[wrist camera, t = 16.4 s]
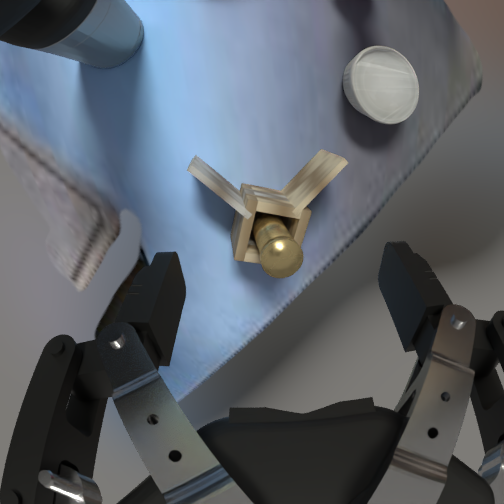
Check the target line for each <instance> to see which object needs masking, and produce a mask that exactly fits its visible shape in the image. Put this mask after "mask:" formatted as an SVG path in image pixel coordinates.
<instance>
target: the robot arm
mask: <svg viewBox="0 0 504 504" xmlns="http://www.w3.org/2000/svg"><path fill="white" fill-rule="evenodd" d="M143 34H144V30H143V24H142V21H141V20H140V18H139V17H138V16H137V15H136V13H135V12H134V11H133V10H132V8H131V7H130V6H129V5H128V4H127V3H126V1H125V0H0V40H1V41H4V42H7V43H9V44H12V45H16V46H20V47H25V48H30V49H34V50H38V51H43V52H46V53H51V54H55V55H58V56H62V57H65V58H69V59H72V60H75V61H79V62H82V63H85V64H88V65H91V66H94V67H98V68H112V67H115V66H118V65H120V64H122V63H124V62H125V61H127V60H128V59H129V58H130V57H132V56H133V54H134V53H135V52H136V51H137V49H138V48H139V46H140V44H141V42H142V39H143ZM378 282H379V287H380V290H381V292H382V295H383V297H384V299H385V302H386V304H387V307H388V309H389V311H390V314H391V317H392V319H393V321H394V324H395V327H396V329H397V332H398V334H399V337H400V340H401V342H402V345H403V348H404V350H405V352H409V351H414V350H416V353H417V355H418V358H417V360H416V362H415V365H414V367H413V370H412V373H411V375H410V377H409V380H408V382H407V385H406V387H405V390H404V392H403V394H402V396H401V398H400V400H399V402H398V404H397V406H396V407H395V409H394V411H393V410H390V409H387V408H383V407H378V406H374V402H373V398H372V397H370V398H363V399H358V400H350V401H342V402H338V403H335V404H332V405H329V406H326V407H324V408H321V409H318V410H315V411H312V412H309V413H304V414H300V413H294V412H288V411H282V410H277V409H271V408H266V407H265V408H230V412H229V417H225V418H222V419H218V420H215V421H213V422H211V423H209V424H207V425H205V426H203V427H202V428H200V429H199V430H197V431H195V429H194V428H193V426H192V425H191V424H190V422H189V420H188V419H187V417H186V416H185V414H184V413H183V411H182V410H181V408H180V407H179V405H178V404H177V402H176V401H175V399H174V397H173V396H172V394H171V393H170V391H169V389H168V388H167V386H166V384H165V383H164V381H163V379H162V378H161V376H160V374H159V373H158V368H159V366H169V365H170V361H171V356H172V352H173V347H174V343H175V339H176V334H177V330H178V326H179V322H180V318H181V314H182V309H183V305H184V301H185V297H186V285H185V281H184V277H183V273H182V269H181V265H180V261H179V257H178V254H177V253H176V252H159V253H156V254H155V256H154V259H153V261H152V263H151V265H150V266H144V267H143V268H142V269H141V270H140V271H139V272H138V273H137V274H136V276H135V278H134V280H133V282H132V284H131V285H132V286H130V289H129V291H128V295H126V298H125V300H124V302H123V304H122V307H121V309H120V311H119V314H118V316H117V318H116V321H115V323H112V324H110V325H108V326H106V327H105V328H104V329H103V330H102V331H101V332H100V333H99V335H98V337H97V339H96V340H92V341H87V342H83V343H78V344H76V342H75V341H74V339H73V338H72V337H70V336H69V335H58V336H56V337H54V338H52V339H51V340H50V341H49V342H48V343H47V344H46V346H45V347H44V349H43V352H42V354H41V356H40V359H39V361H38V363H37V366H36V368H35V371H34V373H33V376H32V378H31V381H30V384H29V386H28V389H27V392H26V395H25V398H24V400H23V403H22V406H21V409H20V412H19V416H18V419H17V422H16V425H15V428H14V432H13V436H12V439H11V443H10V447H9V451H8V455H7V459H6V463H5V468H4V473H3V478H2V483H1V489H0V503H1V504H102V496H101V493H100V490H99V487H98V485H97V484H96V483H95V482H94V481H93V480H92V478H93V471H94V465H95V459H96V453H97V448H98V442H99V437H100V431H101V427H102V422H103V417H104V412H105V408H106V404H107V399H108V397H112V398H113V401H114V404H115V406H116V408H117V410H118V413H119V415H120V417H121V419H122V421H123V423H124V426H125V428H126V430H127V432H128V434H129V436H130V438H131V440H132V442H133V444H134V445H135V448H136V449H137V451H138V453H139V455H140V457H141V459H142V461H143V462H144V464H145V466H146V468H147V469H148V471H149V473H150V475H149V476H148V477H147V478H146V479H145V480H144V481H143V482H141V483H140V484H139V485H138V486H137V487H136V488H135V489H133V490H132V491H131V492H130V493H129V494H128V495H126V496H125V497H124V498H123V499H122V500H120V501H119V502H118V503H117V504H504V390H503V387H502V384H501V381H500V379H499V376H498V374H497V371H496V369H495V367H496V366H497V365H498V363H499V362H500V364H501V366H502V369H503V372H504V311H498V312H496V313H495V314H494V316H493V318H492V319H491V321H485V320H478V319H475V318H474V316H473V314H472V313H471V312H470V311H469V310H468V309H466V308H465V307H463V306H461V305H456V304H453V303H452V301H451V300H450V298H449V296H448V295H447V293H446V291H445V290H444V288H443V287H442V285H441V283H440V282H439V280H438V279H437V277H436V275H435V273H434V272H432V269H431V267H430V266H429V264H428V263H427V261H426V260H425V259H423V258H422V257H421V256H420V255H418V254H417V253H413V251H412V250H411V248H410V247H409V245H408V244H407V243H406V242H405V241H399V242H398V241H397V242H387V243H386V245H385V248H384V253H383V257H382V261H381V266H380V270H379V275H378ZM70 394H71V395H70ZM69 397H70V399H69ZM469 398H471V401H472V404H473V408H474V411H475V415H476V418H477V422H478V426H479V430H480V434H481V438H482V442H483V446H484V451H485V456H484V459H483V462H482V465H481V466H480V468H479V470H478V474H477V473H476V472H475V471H473V470H472V469H471V468H469V467H468V466H467V465H466V464H464V463H463V462H462V461H460V460H459V459H458V458H456V457H455V456H454V455H453V454H452V453H453V451H454V448H455V445H456V442H457V439H458V436H459V433H460V430H461V427H462V423H463V420H464V416H465V413H466V409H467V405H468V402H469ZM68 401H69V402H68ZM67 404H68V405H67ZM66 408H67V409H66Z"/></svg>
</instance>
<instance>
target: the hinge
mask: <svg viewBox="0 0 504 504" xmlns="http://www.w3.org/2000/svg"><path fill="white" fill-rule="evenodd" d="M347 164H348V162H347V161H346V159H345V158H343V157H340V156H338V155H335V154H333V153H330V152H328V151H325V150H322V149H321V150H320V151H319V152H318V153H317V154H316V155H315V156H314V157H313V158H312V159H311V160H310V161H309V162H308V163H307V164H306V165H305V166H304V167H303V169H302V170H301V171H300V172H299V173H298V174H297V175H296V176H295V177H294V178H293V179H292V180H291V181H290V182H289V183H288V184H287V185H286V186H285V187H284V188H283V189H282V190H281V191H279V190H274V189H269V188H264V187H259V186H254V185H249V184H243V183H242V184H241V188H240V191H239V190H238V189H237V188H235V187H234V186H233V185H232V184H231V183H229V182H228V181H227V180H226V179H225V178H223V177H222V176H221V175H220V174H219V173H217V172H216V171H215V170H214V169H213V168H211V167H210V166H209V165H208V164H206V163H205V162H204V161H203V160H202V159H200V158H199V157H198V156H197V155H195V157H194V158H193V159H192V161H191V163H190V165H189V167H188V169H187V171H189V172H190V173H191V174H192V175H194V176H195V177H196V178H197V179H199V180H200V181H201V182H202V183H203V184H205V185H206V186H207V187H208V188H210V189H211V190H212V191H213V192H215V193H216V194H217V195H218V196H220V197H221V198H222V199H223V200H224V201H226V202H227V203H228V204H229V205H231V206H232V207H233V208H234V209H235V210H236V211H235V216H234V220H233V225H232V230H231V241H232V248H233V255H234V260H238V261H245V262H252V263H259V264H261V261H260V252H259V249H258V246H257V243H256V240H255V237H254V234H253V231H252V230H251V229H252V225H253V221H254V217H255V213H256V211H259V212H264V213H270V214H275V215H281V216H280V219H281V220H282V222H283V223H284V225H285V227H286V228H287V230H288V232H289V233H290V235H291V237H292V238H293V239H294V240H295V241H296V242H297V243H298V244H299V246H300V248H301V245H302V242H303V238H304V235H305V232H306V229H307V225H308V222H309V219H310V216H311V210H310V209H309V208H308V207H307V205H308V204H309V203H310V202H311V201H312V200H313V199H314V198H315V197H316V196H317V194H318V193H319V192H320V191H321V190H322V189H323V188H324V187H325V186H326V185H327V184H328V183H329V182H330V181H331V180H332V179H333V178H334V177H335V176H336V175H337V174H338V173H339V172H340V171H341V170H342V169H343V168H344V167H345V166H346V165H347Z"/></svg>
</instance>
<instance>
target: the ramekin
mask: <svg viewBox="0 0 504 504" xmlns="http://www.w3.org/2000/svg"><path fill="white" fill-rule="evenodd" d="M343 89H344V92H345V94H346V97H347V99H348V101H349V102H350V103H351V105H352V106H353V107H354V108H355V109H356V110H357V111H359V112H360V113H362V114H364V115H366V116H368V117H369V118H371V119H372V120H374V121H376V122H379V123H383V124H397V123H400V122H402V121H404V120H406V119H407V118H408V117H409V116H410V115H411V114H412V113H413V111H414V110H415V107H416V105H417V102H418V97H419V85H418V80H417V76H416V74H415V71H414V69H413V68H412V66H411V64H410V63H409V62H408V60H407V59H406V58H405V57H404V56H403V55H402V54H400V53H399V52H397V51H396V50H394V49H392V48H389V47H386V46H372V47H368V48H366V49H364V50H362V51H361V52H360V53H358V54H357V56H356V57H355V58H353V59H352V60H351V61H350V62H349V64H347V66H346V68H345V71H344V74H343Z"/></svg>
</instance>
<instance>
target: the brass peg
mask: <svg viewBox="0 0 504 504" xmlns="http://www.w3.org/2000/svg"><path fill="white" fill-rule="evenodd" d="M252 231H253V234H254V237H255V240H256V243H257V246H258V249H259V252H260V261H261V265H262V267H263V269H264V271H265V272H266V273H267V274H268V275H270V276H272V277H275V278H285V277H289V276H291V275H293V274H294V273H295V272H297V271H298V269H299V268H300V267H301V265H302V262H303V252H302V249H301V248H300V246H299V244H298V243H297V242H296V241H295V240H294V239H293V238H292V237H291V235H290V233H289V232H288V230H287V228H286V227H285V225H284V223H283V222H282V220H281V219H280V217H279V215H275V214H270V213H264V212H259V211H256V213H255V217H254V221H253V225H252Z"/></svg>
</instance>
